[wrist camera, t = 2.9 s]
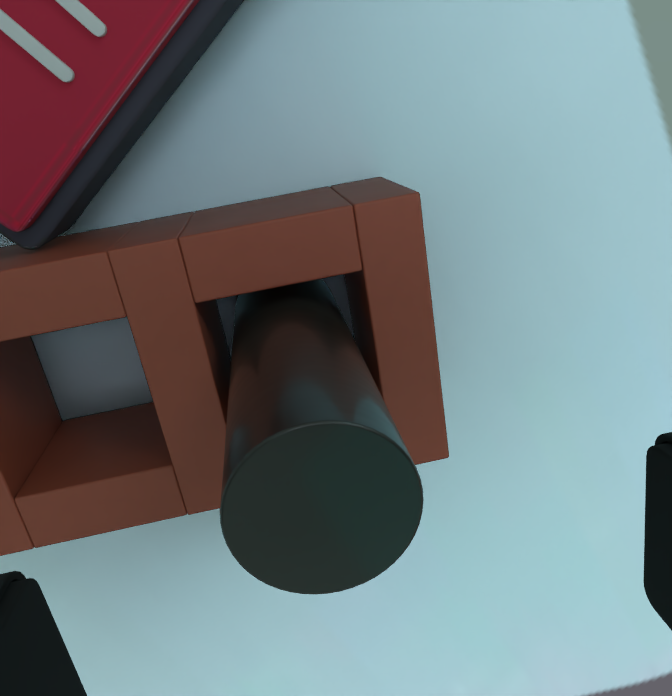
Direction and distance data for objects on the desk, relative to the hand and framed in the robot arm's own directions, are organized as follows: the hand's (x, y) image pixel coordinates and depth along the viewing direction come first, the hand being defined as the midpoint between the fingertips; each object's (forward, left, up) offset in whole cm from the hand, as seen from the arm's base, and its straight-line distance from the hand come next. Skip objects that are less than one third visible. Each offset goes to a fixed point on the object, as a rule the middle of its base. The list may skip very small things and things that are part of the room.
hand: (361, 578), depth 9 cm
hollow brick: (-4, 0, -14) cm, 14 cm away
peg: (0, 0, -14) cm, 14 cm away
